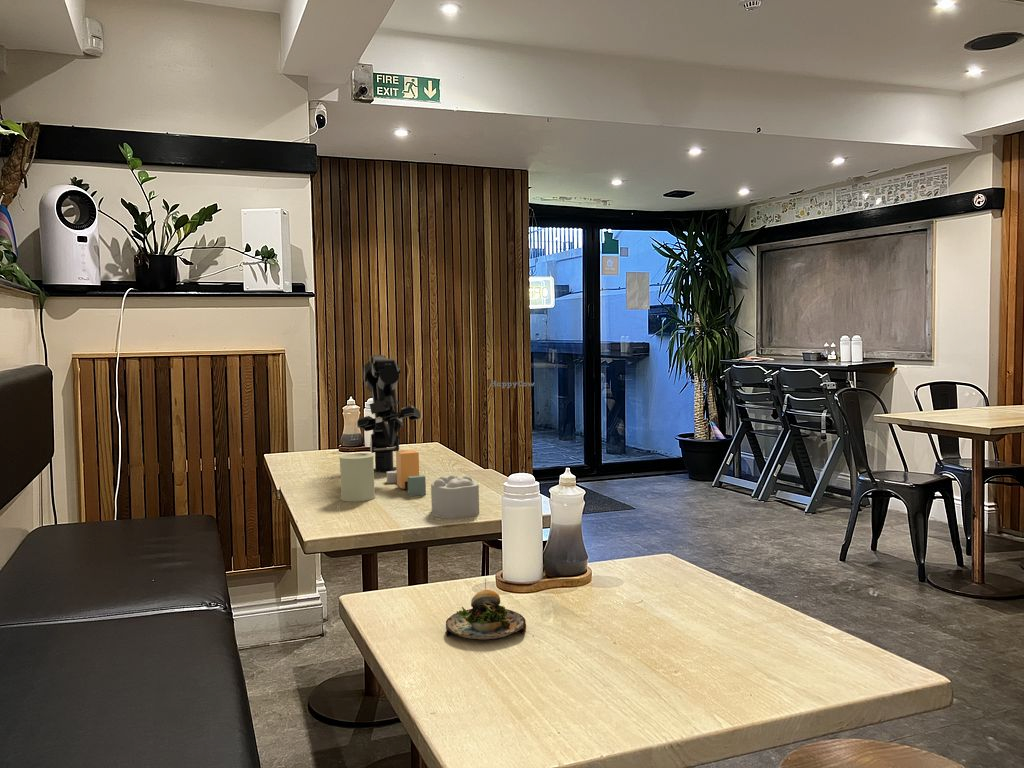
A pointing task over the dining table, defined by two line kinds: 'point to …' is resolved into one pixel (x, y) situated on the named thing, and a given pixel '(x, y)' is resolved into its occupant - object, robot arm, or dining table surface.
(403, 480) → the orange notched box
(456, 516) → the lumpy-topped squat cylinder
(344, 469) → the can
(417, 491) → the toy mallet
